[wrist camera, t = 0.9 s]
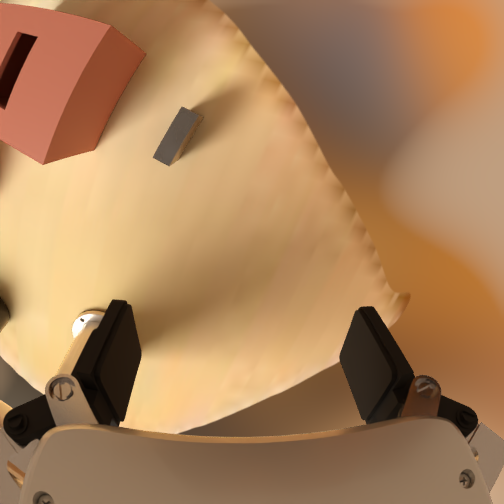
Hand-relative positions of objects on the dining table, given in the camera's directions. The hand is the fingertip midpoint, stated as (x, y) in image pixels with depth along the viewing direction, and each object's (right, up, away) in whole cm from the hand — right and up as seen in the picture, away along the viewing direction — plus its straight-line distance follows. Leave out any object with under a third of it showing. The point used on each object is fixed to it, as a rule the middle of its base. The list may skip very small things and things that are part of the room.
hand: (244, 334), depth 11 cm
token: (-8, +17, +20) cm, 28 cm away
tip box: (-25, +26, +14) cm, 39 cm away
